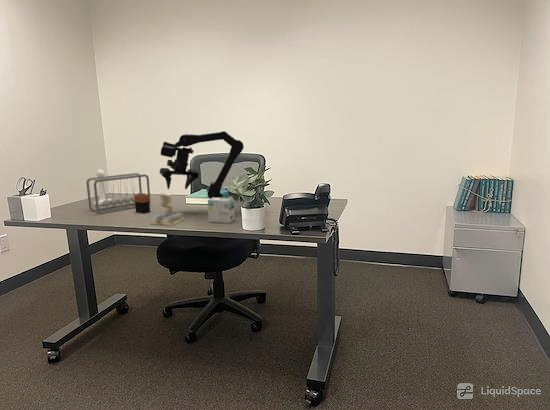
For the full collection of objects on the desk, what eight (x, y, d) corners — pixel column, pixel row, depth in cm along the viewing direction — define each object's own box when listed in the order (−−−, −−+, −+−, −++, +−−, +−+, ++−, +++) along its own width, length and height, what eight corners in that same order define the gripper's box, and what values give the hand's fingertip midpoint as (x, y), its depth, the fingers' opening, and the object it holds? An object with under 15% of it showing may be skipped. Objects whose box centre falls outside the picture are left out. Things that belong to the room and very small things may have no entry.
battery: (143, 213, 209) (142, 194, 207) (135, 212, 213) (133, 193, 211) (150, 212, 213) (149, 193, 211) (142, 210, 217) (140, 192, 214)
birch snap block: (171, 213, 193) (169, 193, 191) (172, 215, 189) (171, 194, 187) (161, 214, 192) (159, 193, 190) (162, 216, 187) (160, 195, 185)
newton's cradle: (142, 203, 237) (139, 172, 233) (151, 205, 229) (148, 174, 226) (89, 211, 216) (85, 178, 212) (97, 214, 208) (93, 180, 205)
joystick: (110, 202, 240) (106, 168, 236) (117, 203, 236) (114, 169, 232) (92, 205, 231) (88, 170, 227) (99, 207, 227) (96, 171, 223)
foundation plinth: (183, 220, 195) (183, 213, 194) (171, 225, 184) (171, 218, 184) (163, 218, 198) (163, 212, 197) (150, 224, 187) (149, 217, 187)
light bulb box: (234, 219, 194) (234, 197, 192) (230, 223, 187) (229, 200, 185) (213, 218, 196) (212, 196, 194) (208, 222, 190) (207, 199, 188)
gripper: (193, 155, 212) (188, 183, 217) (158, 153, 201) (153, 182, 206) (202, 162, 204) (196, 191, 209) (165, 160, 193) (161, 191, 198)
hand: (176, 188), depth 206 cm, fingers open, 9 cm apart
